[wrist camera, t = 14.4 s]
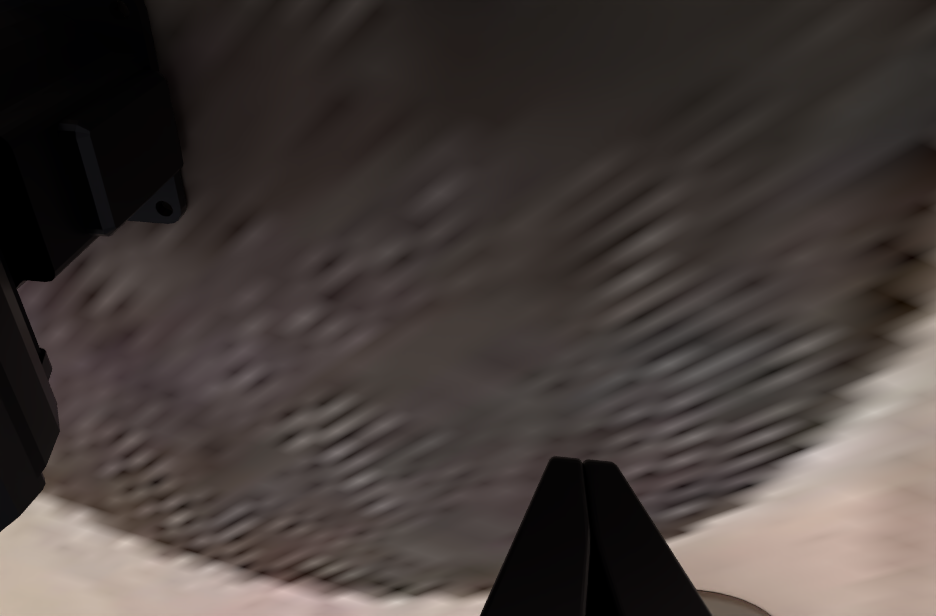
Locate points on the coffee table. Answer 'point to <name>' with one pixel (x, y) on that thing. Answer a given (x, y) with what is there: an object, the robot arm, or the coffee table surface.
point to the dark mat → (729, 605)
